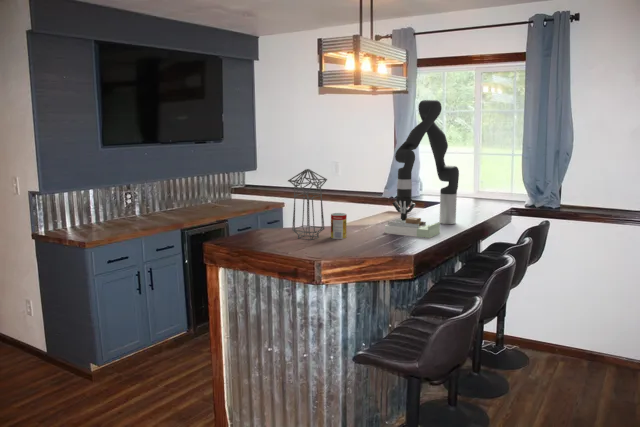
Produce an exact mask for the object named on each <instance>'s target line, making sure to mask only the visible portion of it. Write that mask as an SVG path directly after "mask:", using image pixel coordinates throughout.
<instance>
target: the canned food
mask: <svg viewBox="0 0 640 427" xmlns="http://www.w3.org/2000/svg"><path fill="white" fill-rule="evenodd" d="M347 219H348V218H347V213H343V212H335V213H330V238H331V239H333V240H344V239H346V238H347V223H348V222H347Z"/></svg>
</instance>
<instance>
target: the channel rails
mask: <svg viewBox="0 0 640 427" xmlns="http://www.w3.org/2000/svg"><path fill="white" fill-rule="evenodd" d="M426 222H427V221H423V220H421V225H423V226H426V225H427V223H426ZM387 225H391V226H400V227H410V228H419V224H412V223H406V220H405V221H402V219H401V218H395V221H387Z"/></svg>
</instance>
